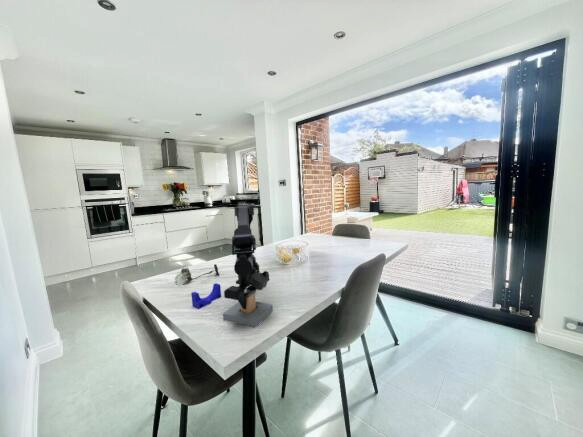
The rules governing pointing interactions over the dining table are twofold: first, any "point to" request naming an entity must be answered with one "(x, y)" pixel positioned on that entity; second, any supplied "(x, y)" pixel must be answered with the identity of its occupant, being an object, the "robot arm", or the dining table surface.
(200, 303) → the cable clip
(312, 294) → the dining table surface
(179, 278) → the artificial flower
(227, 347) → the dining table surface
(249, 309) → the tan upright block
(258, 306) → the socket plate
